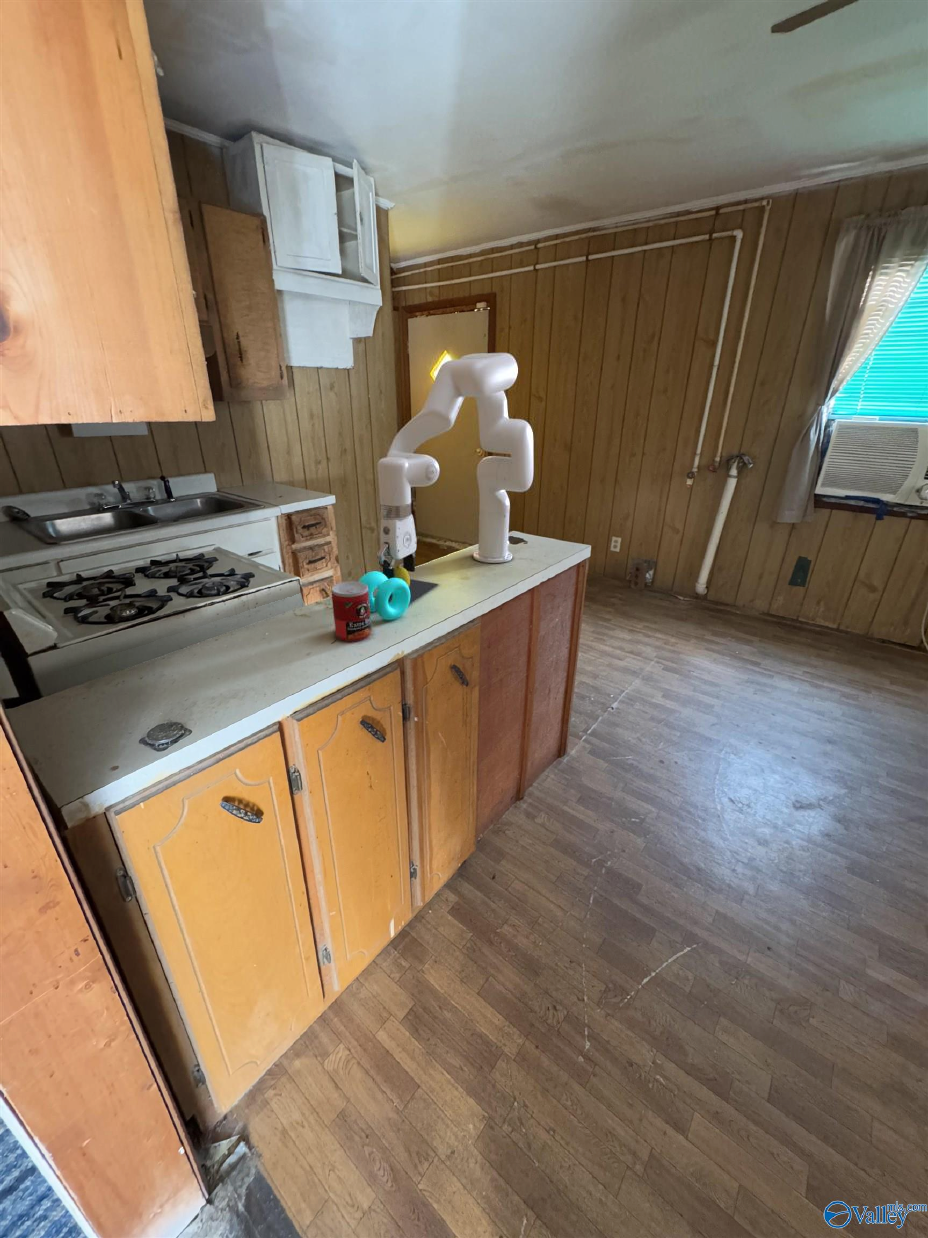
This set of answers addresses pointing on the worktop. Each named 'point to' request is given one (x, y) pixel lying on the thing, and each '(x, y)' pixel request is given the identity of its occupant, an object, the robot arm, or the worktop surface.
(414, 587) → the mat
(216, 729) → the worktop surface
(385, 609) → the donuts
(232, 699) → the worktop surface
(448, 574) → the worktop surface
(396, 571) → the lemon
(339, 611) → the canned food
